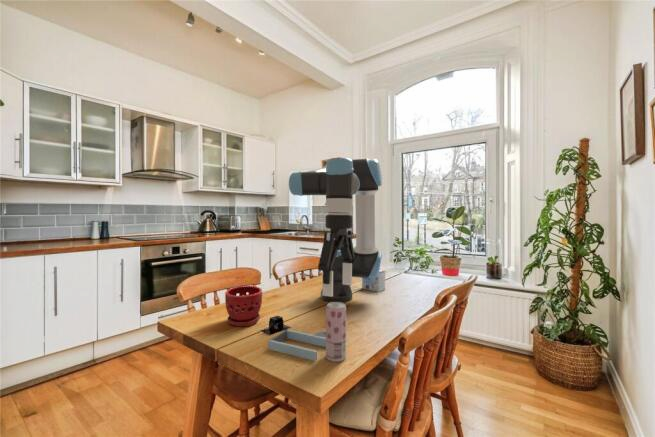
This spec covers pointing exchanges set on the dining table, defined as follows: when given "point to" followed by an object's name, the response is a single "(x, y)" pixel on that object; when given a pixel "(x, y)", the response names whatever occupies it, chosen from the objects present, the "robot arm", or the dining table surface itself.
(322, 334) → the grey round disc
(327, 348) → the beverage can
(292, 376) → the dining table surface
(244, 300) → the plant pot
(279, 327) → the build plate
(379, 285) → the light bulb box
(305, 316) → the dining table surface
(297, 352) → the channel
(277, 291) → the dining table surface
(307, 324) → the dining table surface
